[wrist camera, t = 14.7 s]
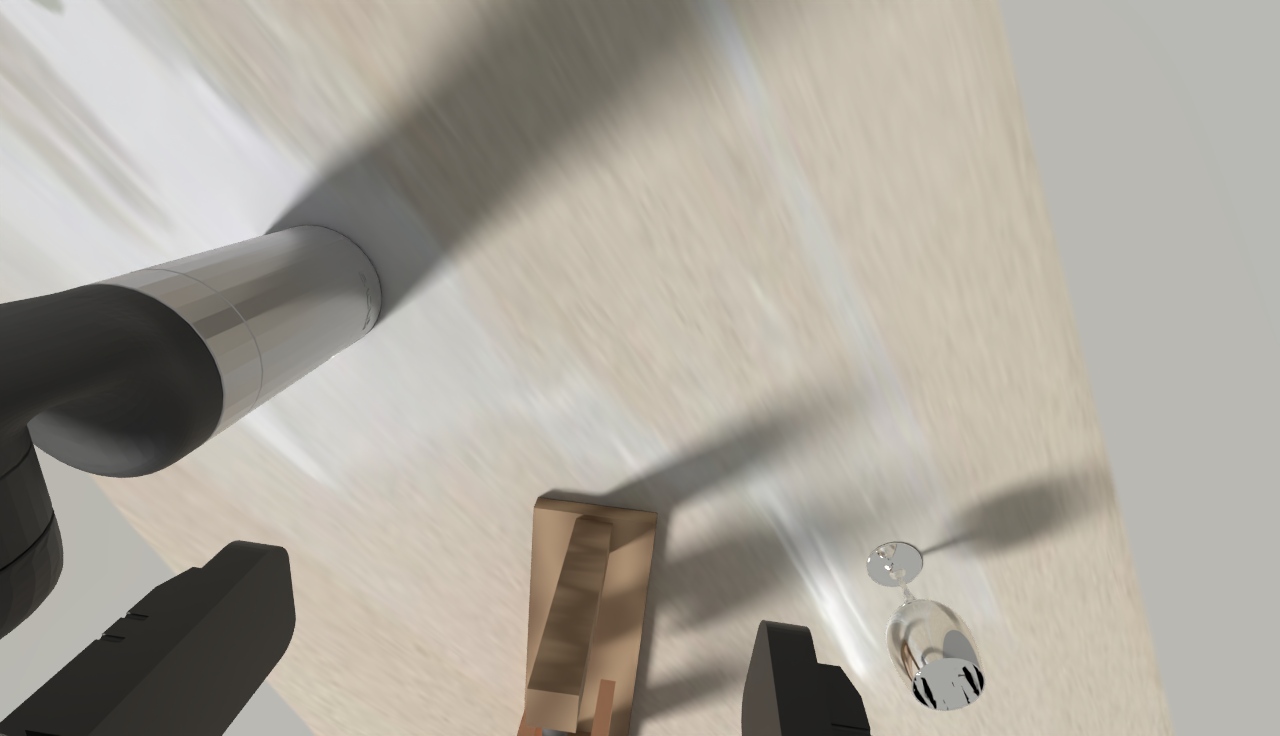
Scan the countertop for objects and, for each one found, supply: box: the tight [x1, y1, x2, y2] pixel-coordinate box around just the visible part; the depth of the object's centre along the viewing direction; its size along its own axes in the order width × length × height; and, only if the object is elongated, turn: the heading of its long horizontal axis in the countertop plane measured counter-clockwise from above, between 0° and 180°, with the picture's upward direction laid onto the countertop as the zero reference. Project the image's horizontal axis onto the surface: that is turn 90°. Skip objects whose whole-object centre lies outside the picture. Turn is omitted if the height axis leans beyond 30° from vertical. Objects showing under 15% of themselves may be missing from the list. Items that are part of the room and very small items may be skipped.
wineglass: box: [866, 543, 985, 711], centre depth 47 cm, size 6×6×12 cm
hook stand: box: [525, 498, 657, 736], centre depth 50 cm, size 10×28×18 cm, turn 174°
